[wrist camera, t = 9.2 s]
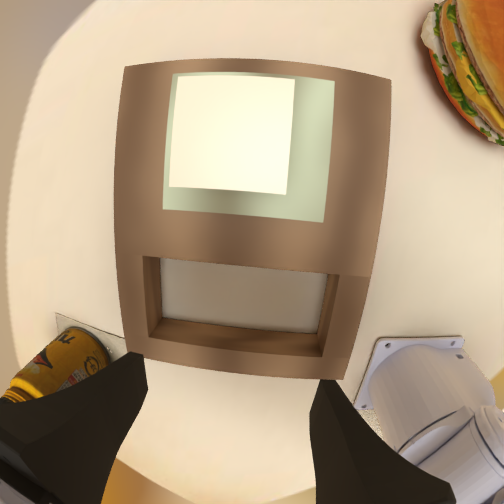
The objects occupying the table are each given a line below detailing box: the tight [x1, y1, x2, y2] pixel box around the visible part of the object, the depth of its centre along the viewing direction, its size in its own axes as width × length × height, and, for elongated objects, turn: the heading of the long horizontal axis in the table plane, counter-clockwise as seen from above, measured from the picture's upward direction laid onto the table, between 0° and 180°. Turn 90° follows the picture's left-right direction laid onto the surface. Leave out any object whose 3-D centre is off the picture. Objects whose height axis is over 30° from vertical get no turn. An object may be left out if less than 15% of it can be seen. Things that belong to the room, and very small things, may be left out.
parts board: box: [114, 58, 391, 380], centre depth 18 cm, size 16×20×3 cm
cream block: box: [169, 75, 295, 195], centre depth 12 cm, size 4×4×6 cm
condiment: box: [0, 313, 127, 404], centre depth 18 cm, size 7×8×12 cm
